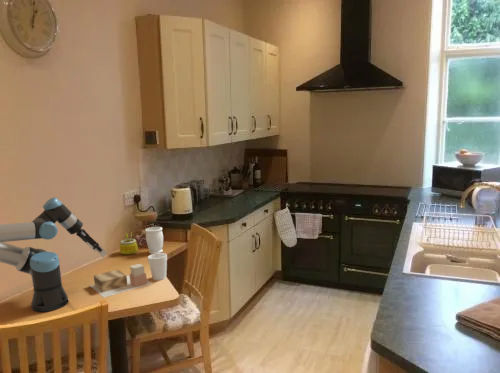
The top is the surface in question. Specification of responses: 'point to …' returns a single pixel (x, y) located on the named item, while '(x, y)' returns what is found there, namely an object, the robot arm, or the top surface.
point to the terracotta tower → (137, 275)
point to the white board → (118, 290)
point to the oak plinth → (110, 280)
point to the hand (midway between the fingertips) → (100, 252)
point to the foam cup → (158, 265)
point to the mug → (128, 246)
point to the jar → (154, 239)
